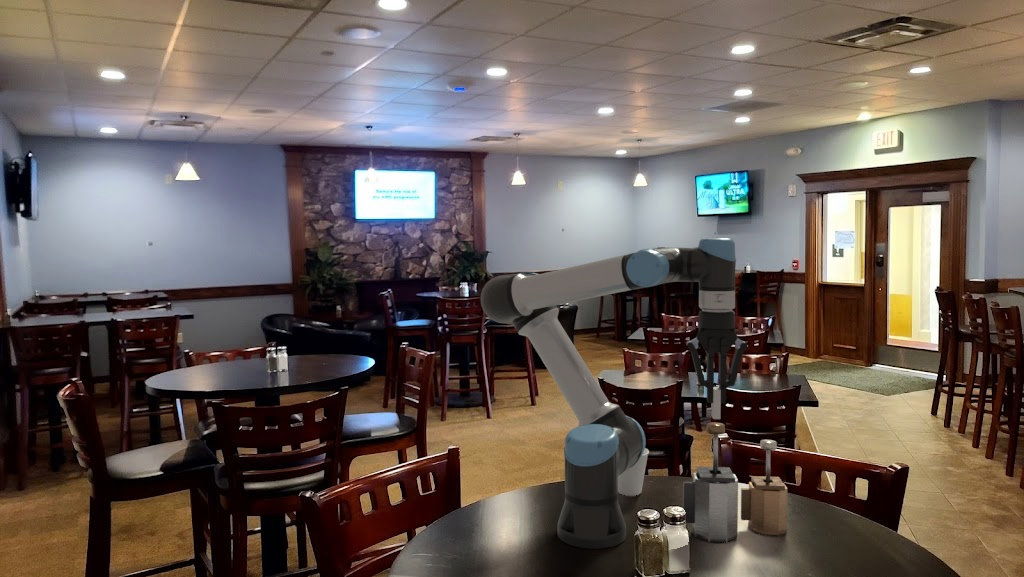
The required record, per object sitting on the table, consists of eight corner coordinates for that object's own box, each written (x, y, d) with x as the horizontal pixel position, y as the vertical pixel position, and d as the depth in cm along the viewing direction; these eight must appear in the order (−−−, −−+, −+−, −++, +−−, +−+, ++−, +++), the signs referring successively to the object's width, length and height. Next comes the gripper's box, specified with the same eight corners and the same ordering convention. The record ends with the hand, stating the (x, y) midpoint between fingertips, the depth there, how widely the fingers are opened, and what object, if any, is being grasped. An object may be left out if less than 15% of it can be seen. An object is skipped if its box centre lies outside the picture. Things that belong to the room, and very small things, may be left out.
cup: (609, 498, 183) (609, 455, 182) (610, 484, 192) (610, 444, 191) (649, 500, 181) (649, 457, 180) (648, 486, 191) (648, 445, 190)
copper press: (781, 522, 166) (782, 475, 165) (790, 537, 158) (791, 488, 157) (737, 520, 167) (738, 474, 167) (744, 535, 159) (745, 486, 159)
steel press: (733, 526, 164) (734, 465, 163) (741, 544, 155) (741, 480, 154) (681, 524, 166) (681, 464, 165) (685, 542, 156) (686, 478, 155)
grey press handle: (757, 494, 159) (757, 445, 159) (751, 485, 165) (752, 437, 164) (784, 495, 159) (785, 446, 158) (778, 486, 164) (779, 438, 164)
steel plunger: (701, 487, 156) (701, 428, 155) (697, 476, 163) (697, 420, 162) (734, 488, 155) (735, 429, 154) (729, 477, 162) (729, 420, 161)
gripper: (687, 311, 154) (687, 421, 155) (751, 311, 152) (750, 422, 154) (684, 308, 161) (683, 412, 163) (744, 308, 159) (743, 413, 161)
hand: (716, 417), depth 158 cm, fingers closed
